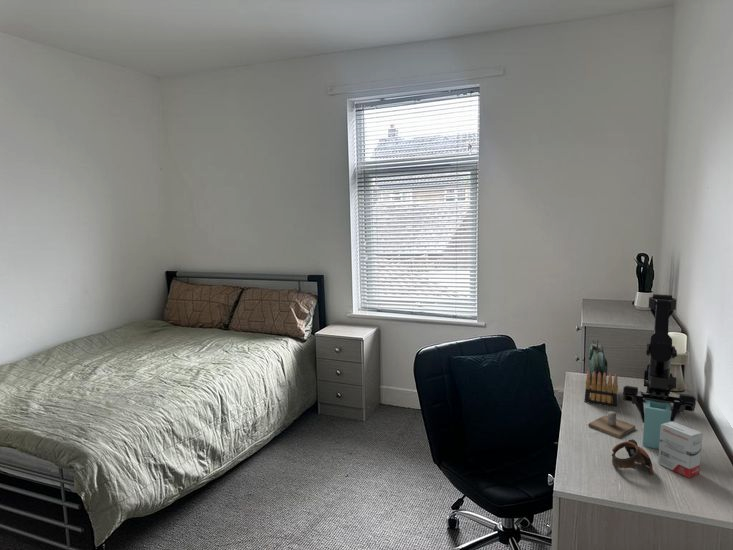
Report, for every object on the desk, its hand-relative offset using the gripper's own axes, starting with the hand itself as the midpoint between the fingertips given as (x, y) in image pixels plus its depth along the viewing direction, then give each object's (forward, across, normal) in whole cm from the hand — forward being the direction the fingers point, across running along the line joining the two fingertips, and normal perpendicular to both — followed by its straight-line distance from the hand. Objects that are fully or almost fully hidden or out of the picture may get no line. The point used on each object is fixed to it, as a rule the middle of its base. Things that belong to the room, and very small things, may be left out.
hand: (656, 424), depth 143 cm
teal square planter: (+4, 0, +6) cm, 7 cm away
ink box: (+13, +6, -3) cm, 14 cm away
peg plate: (0, -12, +9) cm, 15 cm away
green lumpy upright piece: (-21, -20, +31) cm, 42 cm away
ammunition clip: (-13, -17, +23) cm, 31 cm away
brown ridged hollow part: (+16, -5, -7) cm, 19 cm away
